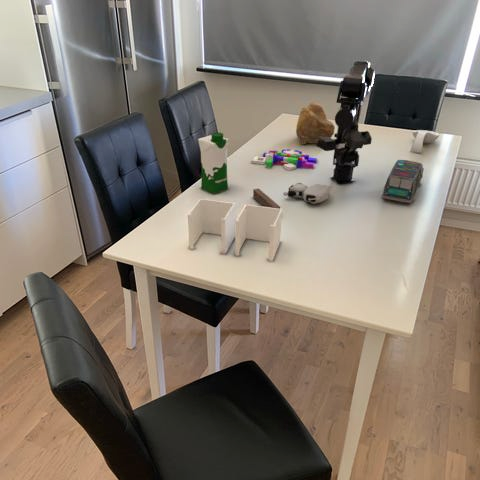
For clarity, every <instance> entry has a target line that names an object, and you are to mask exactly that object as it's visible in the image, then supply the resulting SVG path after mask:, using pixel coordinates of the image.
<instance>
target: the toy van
mask: <svg viewBox="0 0 480 480" xmlns="http://www.w3.org/2000/svg"><path fill="white" fill-rule="evenodd" d="M424 170H425V168H424V166H423V163H421V162H418V161H414V160H408V159H397V160H396V162H395V163H394V165H393V166H392V168H391V171H390V172H389V174H388V176H387V178H386V181H385V184H384V186H383V191H382V195H381V198H382V199H386V200H390V201H391V200H392V201H396V202H402V203H408V204H411V203H412V202H413V200H414V197H415V194H416V193H417V191H418V188H419V187H420V186H421V180H422V179H423V175H424Z"/></svg>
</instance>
